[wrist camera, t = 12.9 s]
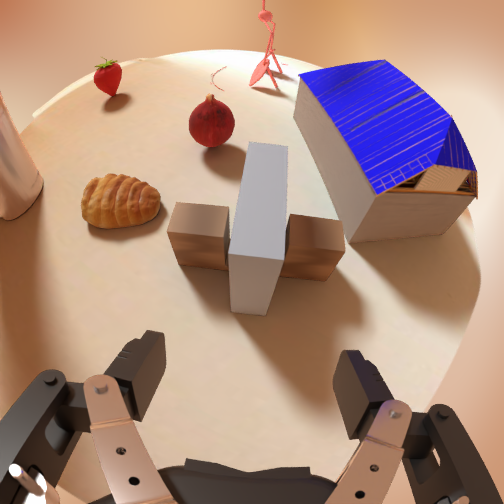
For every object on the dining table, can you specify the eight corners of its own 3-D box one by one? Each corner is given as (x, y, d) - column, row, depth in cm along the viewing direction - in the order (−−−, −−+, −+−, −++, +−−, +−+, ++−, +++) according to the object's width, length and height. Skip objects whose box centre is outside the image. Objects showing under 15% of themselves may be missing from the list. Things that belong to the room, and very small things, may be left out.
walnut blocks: (178, 264, 25) (166, 231, 20) (185, 238, 27) (176, 202, 22) (325, 281, 25) (345, 251, 20) (324, 253, 27) (342, 221, 22)
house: (444, 236, 29) (510, 154, 16) (345, 246, 28) (414, 123, 14) (373, 124, 42) (398, 52, 28) (290, 117, 40) (305, 30, 26)
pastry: (169, 189, 30) (163, 165, 27) (153, 237, 27) (143, 214, 24) (104, 187, 30) (94, 166, 27) (83, 230, 27) (69, 210, 24)
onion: (242, 150, 34) (244, 98, 27) (203, 165, 32) (198, 111, 25) (221, 130, 36) (220, 82, 30) (184, 143, 35) (178, 93, 28)
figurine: (288, 63, 55) (300, -56, 24) (276, 105, 41) (293, -80, 11) (228, 58, 56) (229, -58, 26) (192, 98, 43) (182, -74, 12)
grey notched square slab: (265, 316, 23) (284, 260, 14) (230, 311, 23) (228, 253, 14) (273, 223, 28) (287, 146, 20) (244, 219, 28) (248, 141, 20)
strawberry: (95, 107, 42) (83, 66, 33) (105, 91, 45) (97, 54, 37) (120, 100, 42) (111, 58, 34) (129, 86, 46) (122, 47, 37)
